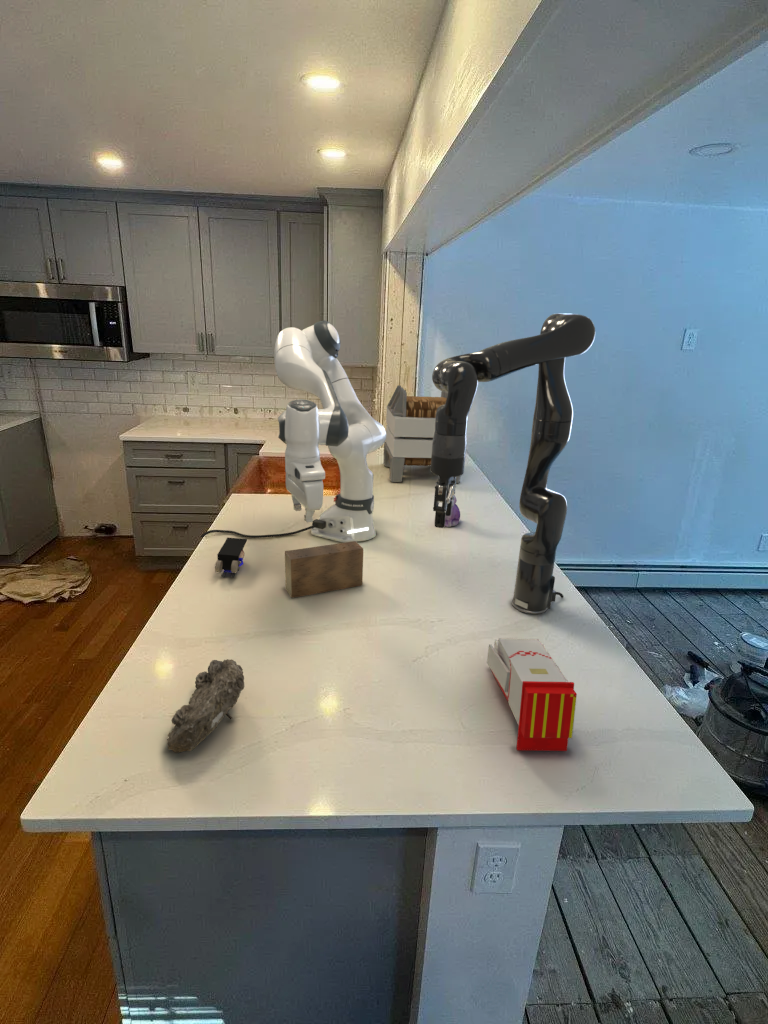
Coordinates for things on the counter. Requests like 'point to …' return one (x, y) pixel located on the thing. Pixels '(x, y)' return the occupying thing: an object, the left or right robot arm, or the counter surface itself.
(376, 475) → the counter surface
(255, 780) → the counter surface
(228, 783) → the counter surface
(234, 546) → the black wheeled rover
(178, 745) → the fossil
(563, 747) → the toy
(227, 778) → the counter surface
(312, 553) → the box
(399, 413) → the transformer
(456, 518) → the figurine
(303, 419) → the left robot arm
